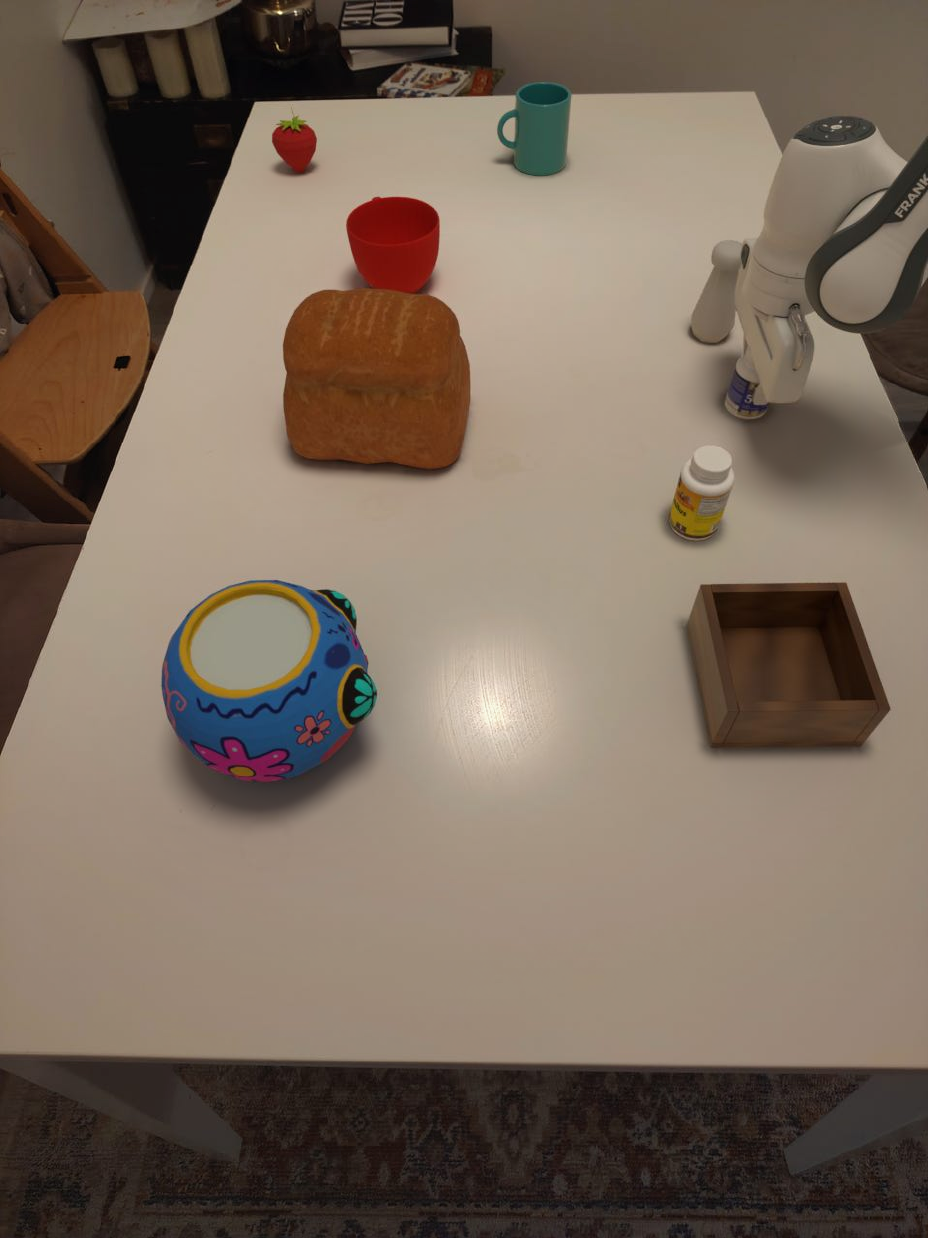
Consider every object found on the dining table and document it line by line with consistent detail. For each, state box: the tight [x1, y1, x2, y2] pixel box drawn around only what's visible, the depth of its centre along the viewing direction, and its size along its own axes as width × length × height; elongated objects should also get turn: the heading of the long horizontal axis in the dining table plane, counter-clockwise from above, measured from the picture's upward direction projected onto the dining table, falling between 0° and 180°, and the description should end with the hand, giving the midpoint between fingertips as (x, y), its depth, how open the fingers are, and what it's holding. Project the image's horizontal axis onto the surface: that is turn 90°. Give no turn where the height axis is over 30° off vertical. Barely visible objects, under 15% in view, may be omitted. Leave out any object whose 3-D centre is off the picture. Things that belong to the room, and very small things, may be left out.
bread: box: [282, 287, 472, 470], centre depth 97 cm, size 18×22×17 cm
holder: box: [686, 581, 892, 748], centre depth 78 cm, size 14×14×7 cm
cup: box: [496, 81, 572, 177], centre depth 138 cm, size 9×12×11 cm
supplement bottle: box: [668, 444, 735, 542], centre depth 89 cm, size 6×6×10 cm
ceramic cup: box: [345, 196, 441, 294], centre depth 119 cm, size 13×17×10 cm
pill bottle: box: [724, 345, 770, 420], centre depth 101 cm, size 5×5×9 cm
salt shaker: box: [690, 239, 743, 344], centre depth 108 cm, size 6×6×13 cm
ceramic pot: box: [160, 579, 378, 783], centre depth 73 cm, size 18×18×15 cm
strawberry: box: [271, 107, 318, 174], centre depth 138 cm, size 6×8×10 cm
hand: (752, 383), depth 102 cm, fingers closed on pill bottle, 5 cm apart
